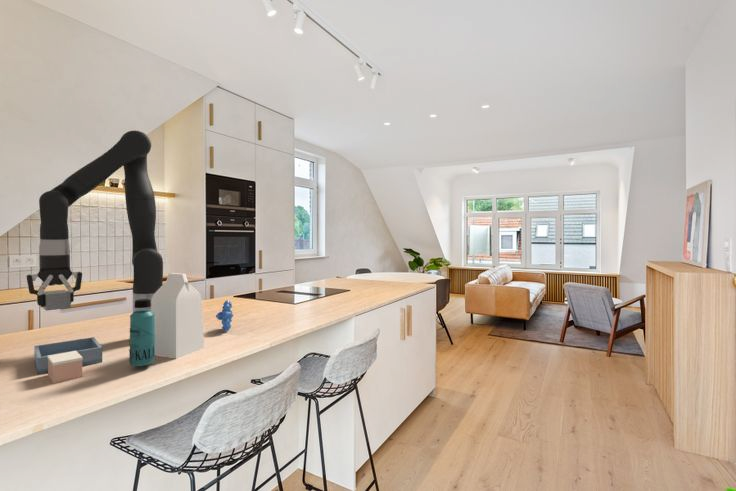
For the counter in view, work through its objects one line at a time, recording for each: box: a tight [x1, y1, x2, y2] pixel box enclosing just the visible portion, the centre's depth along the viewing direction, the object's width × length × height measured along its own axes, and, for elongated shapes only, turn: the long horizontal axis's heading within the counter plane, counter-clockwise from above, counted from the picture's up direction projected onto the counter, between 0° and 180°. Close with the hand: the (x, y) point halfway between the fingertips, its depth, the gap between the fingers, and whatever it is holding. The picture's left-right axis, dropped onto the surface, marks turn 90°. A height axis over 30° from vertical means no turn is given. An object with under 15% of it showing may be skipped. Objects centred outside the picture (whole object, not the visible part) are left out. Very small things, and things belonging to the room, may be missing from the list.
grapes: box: [215, 300, 234, 332], centre depth 150 cm, size 12×7×12 cm, turn 15°
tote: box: [33, 336, 103, 375], centre depth 112 cm, size 15×15×4 cm
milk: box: [151, 272, 205, 360], centre depth 122 cm, size 12×12×26 cm
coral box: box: [47, 351, 83, 384], centre depth 101 cm, size 6×8×6 cm
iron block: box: [41, 289, 72, 312], centre depth 119 cm, size 6×8×5 cm
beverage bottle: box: [128, 299, 156, 367], centre depth 107 cm, size 6×7×20 cm
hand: (55, 305), depth 119 cm, fingers closed on iron block, 6 cm apart
